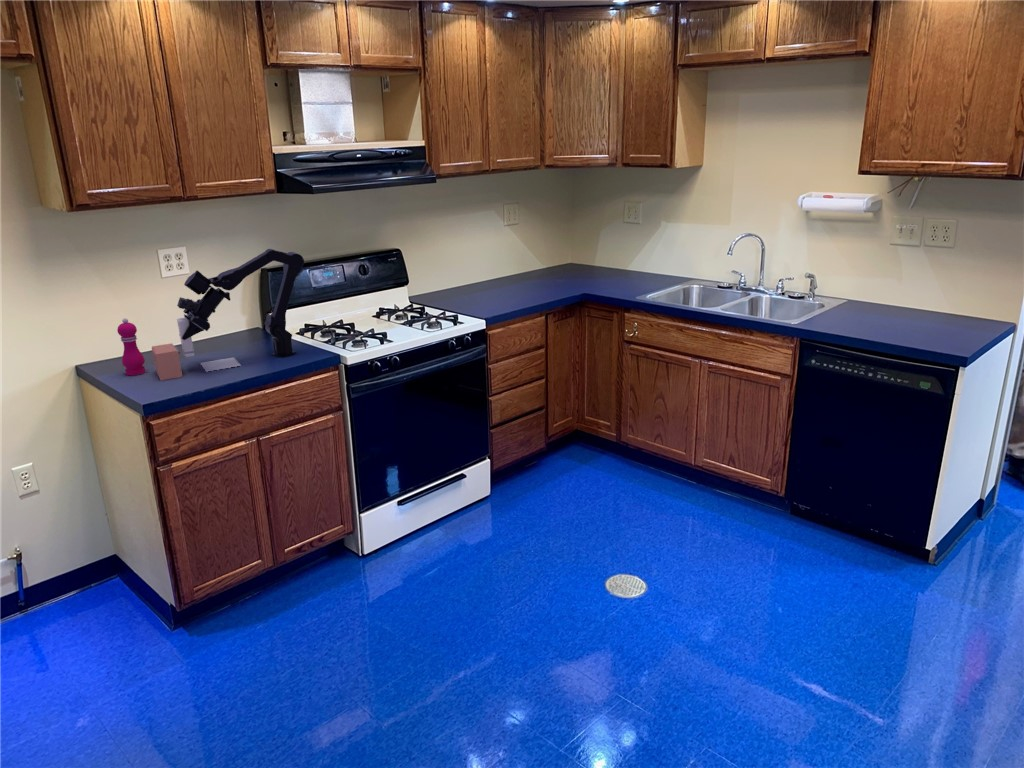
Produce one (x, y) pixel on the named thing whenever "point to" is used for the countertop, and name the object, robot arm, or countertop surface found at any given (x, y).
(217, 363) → the mat
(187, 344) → the white rectangular block
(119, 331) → the pepper mill
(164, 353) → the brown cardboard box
